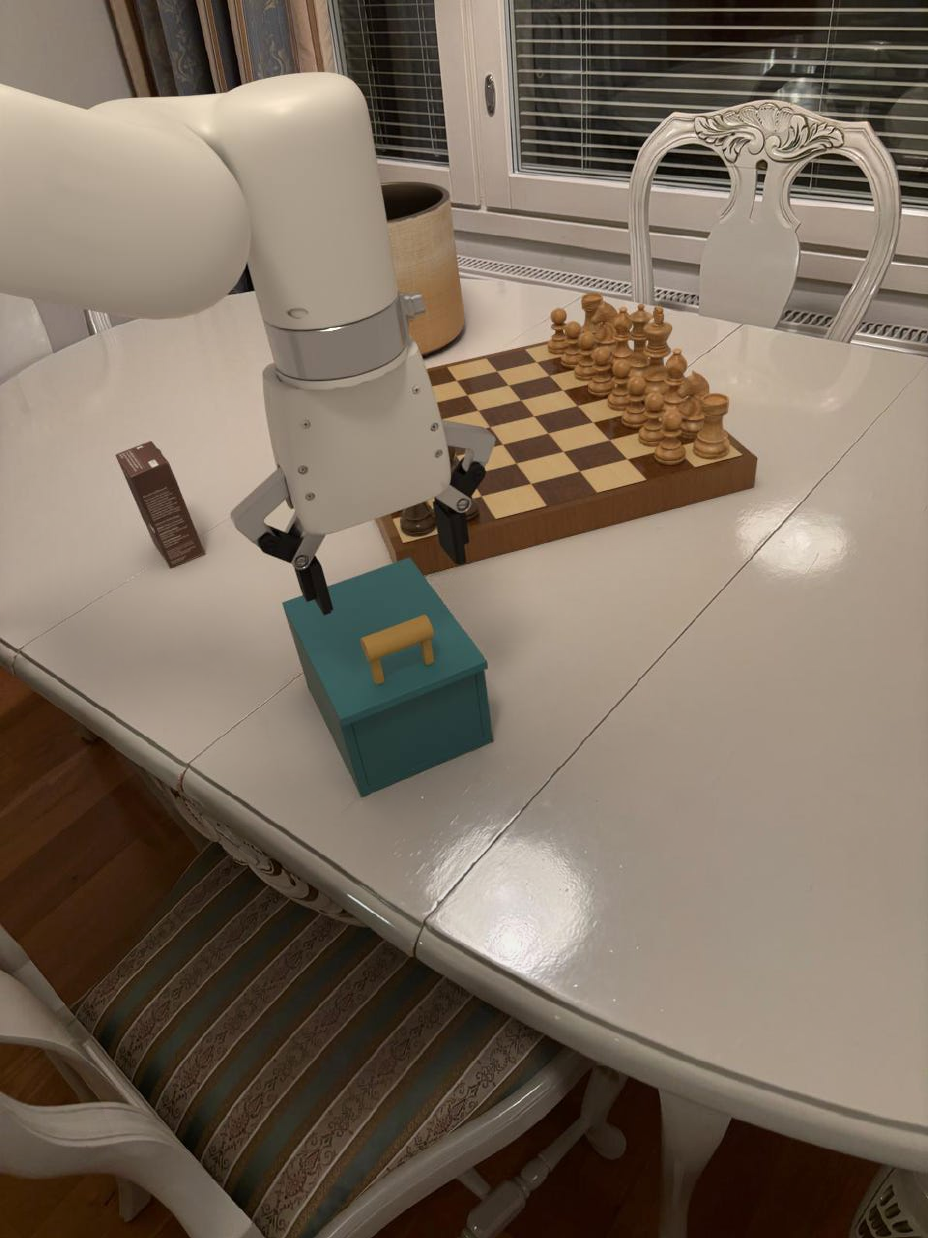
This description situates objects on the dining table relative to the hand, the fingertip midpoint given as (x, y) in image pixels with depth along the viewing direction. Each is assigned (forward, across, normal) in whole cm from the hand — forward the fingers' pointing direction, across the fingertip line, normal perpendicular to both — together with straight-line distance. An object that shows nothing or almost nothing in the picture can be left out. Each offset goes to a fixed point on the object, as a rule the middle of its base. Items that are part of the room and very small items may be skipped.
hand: (389, 578), depth 60 cm
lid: (+9, 0, -5) cm, 11 cm away
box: (+18, +13, -42) cm, 47 cm away
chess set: (+19, -29, -40) cm, 53 cm away
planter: (+19, -29, -82) cm, 89 cm away
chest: (+18, 0, -6) cm, 19 cm away
